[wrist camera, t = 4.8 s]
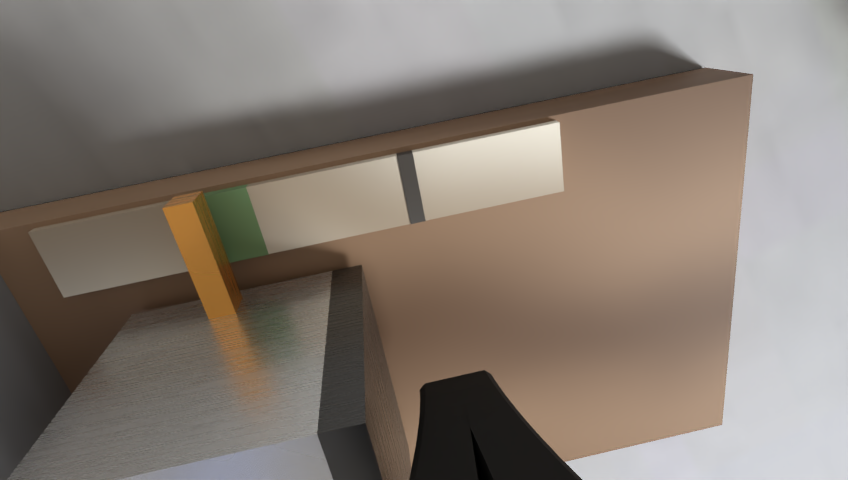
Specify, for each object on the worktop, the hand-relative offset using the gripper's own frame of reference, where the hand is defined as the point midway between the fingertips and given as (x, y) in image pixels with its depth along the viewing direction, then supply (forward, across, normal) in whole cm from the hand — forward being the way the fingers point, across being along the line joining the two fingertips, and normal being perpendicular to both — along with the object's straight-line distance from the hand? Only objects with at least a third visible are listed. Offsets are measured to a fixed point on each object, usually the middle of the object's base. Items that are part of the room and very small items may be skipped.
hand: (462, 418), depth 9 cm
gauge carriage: (+2, +4, -1) cm, 4 cm away
